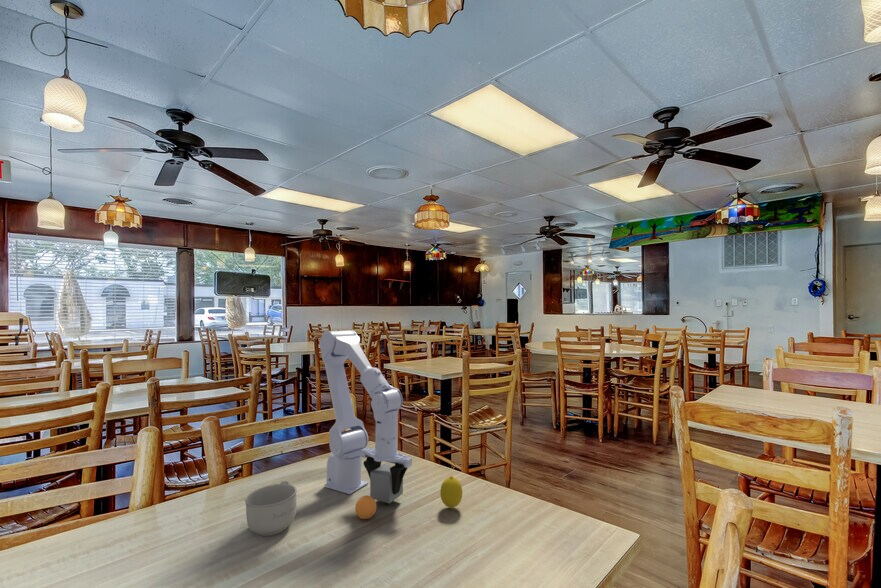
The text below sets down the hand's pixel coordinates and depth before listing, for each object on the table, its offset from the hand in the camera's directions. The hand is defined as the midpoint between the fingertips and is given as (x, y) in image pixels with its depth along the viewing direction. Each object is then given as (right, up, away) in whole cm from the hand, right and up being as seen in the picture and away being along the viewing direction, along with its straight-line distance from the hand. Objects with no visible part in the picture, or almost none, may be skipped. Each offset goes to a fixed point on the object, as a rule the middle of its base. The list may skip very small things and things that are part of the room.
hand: (385, 489), depth 104 cm
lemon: (+17, -4, -2) cm, 17 cm away
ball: (-4, -1, -7) cm, 8 cm away
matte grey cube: (0, -2, 0) cm, 2 cm away
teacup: (-24, -3, -11) cm, 27 cm away
